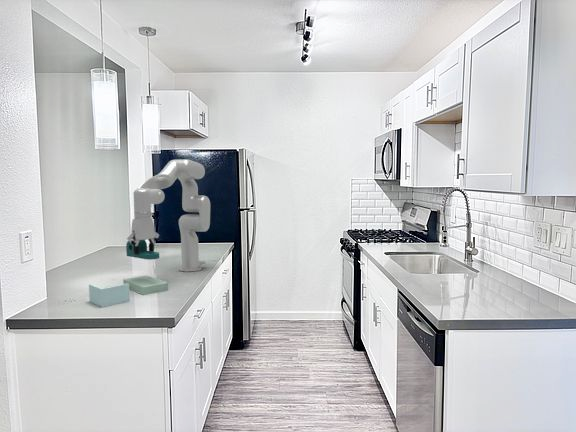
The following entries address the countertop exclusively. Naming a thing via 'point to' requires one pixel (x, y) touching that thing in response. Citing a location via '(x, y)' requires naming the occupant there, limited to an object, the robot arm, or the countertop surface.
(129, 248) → the bracket
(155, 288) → the base plate
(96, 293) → the l-shaped corner panel
